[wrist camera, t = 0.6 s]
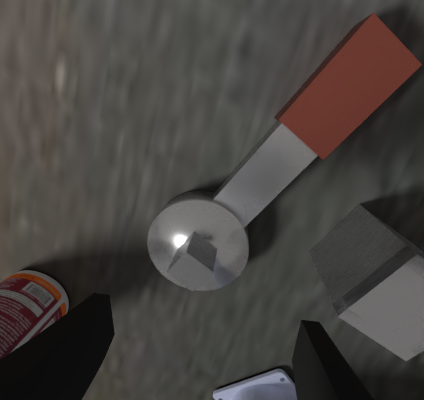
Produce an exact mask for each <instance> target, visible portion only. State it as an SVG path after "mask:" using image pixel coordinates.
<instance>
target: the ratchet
mask: <svg viewBox="0 0 424 400" xmlns="http://www.w3.org/2000/svg"><path fill="white" fill-rule="evenodd" d="M421 65H422V64H421V63H420V62H419V61H418V60H417V59H416V57H415V56H414V55H413V54H412V53H411V52H410V51H409V50H408V49H407V48H406V47H405V46H404V45H403V44H402V42H401V41H400V40H399V39H398V38H397V37H396V36H395V35H394V34H393V33H392V32H391V31H390V30H389V29H388V27H387V26H386V25H385V24H384V23H383V22H382V21H381V20H380V19H379V18H378V17H377V16H376V15H375V14H374V13H372V14H371V15H369V16H368V17H366V18H365V19H364V20H362V21H361V22H359V23H358V24H357V25H355V26H354V27H353V28H352V29H351V30H350V32H349V33H348V34H347V35H346V36H345V37H344V38H343V40H342V41H341V42H340V43H339V44H338V45H337V46H336V48H335V49H334V50H333V51H332V52H331V53H330V54H329V56H328V57H327V58H326V59H325V60H324V61H323V62H322V64H321V65H320V66H319V67H318V68H317V69H316V70H315V72H314V73H313V74H312V75H311V76H310V77H309V78H308V80H307V81H306V82H305V83H304V84H303V85H302V86H301V88H300V89H299V90H298V91H297V92H296V93H295V94H294V96H293V97H292V98H291V99H290V100H289V101H288V102H287V104H286V105H285V106H284V107H283V108H282V109H281V110H280V112H279V113H278V114H277V115H276V116H275V117H274V118H275V119H276V120H277V122H276V123H275V125H274V126H273V127H272V128H271V129H270V130H269V131H268V132H267V134H266V135H265V136H264V137H263V138H262V139H261V140H260V141H259V143H258V144H257V145H256V146H255V147H254V148H253V149H252V151H251V152H250V153H249V154H248V155H247V156H246V157H245V158H244V160H243V161H242V162H241V163H240V164H239V165H238V166H237V167H236V169H235V170H234V171H233V172H232V173H231V174H230V175H229V176H228V178H227V179H226V180H225V181H224V182H223V183H222V184H221V185H220V187H219V188H218V189H217V190H216V191H215V192H210V191H203V190H196V191H189V192H185V193H182V194H180V195H178V196H176V197H174V198H173V199H172V200H170V201H169V202H168V203H167V204H166V205H165V207H164V208H163V209H162V211H161V212H160V213H159V214H158V216H157V217H156V218H155V220H154V221H153V223H152V225H151V227H150V229H149V232H148V238H147V246H148V252H149V255H150V258H151V260H152V262H153V264H154V265H155V267H156V268H157V269H158V271H159V272H160V273H161V274H162V275H163V276H164V277H166V278H167V279H168V280H170V281H171V282H173V283H175V284H177V285H179V286H181V287H184V288H188V289H189V290H191V291H192V292H193V291H194V290H200V291H205V290H214V289H218V288H221V287H224V286H226V285H228V284H229V283H231V282H232V281H234V280H235V279H236V278H237V277H238V276H239V275H240V274H241V273H242V271H243V270H244V268H245V266H246V263H247V260H248V255H249V241H248V227H247V225H248V224H249V223H250V222H251V221H252V220H253V219H254V218H255V217H256V216H257V215H258V214H259V213H260V212H261V211H262V210H263V209H264V208H265V207H266V206H267V205H268V204H269V203H270V202H271V201H272V200H273V199H274V198H275V197H276V196H277V195H278V194H279V193H280V192H281V191H282V190H283V189H284V188H285V187H286V186H287V185H288V184H289V183H290V182H291V181H292V180H293V179H295V178H296V177H297V176H298V175H299V174H300V173H301V172H302V171H303V170H304V169H305V168H306V167H307V166H308V165H309V164H310V163H311V162H312V161H313V160H314V159H315V158H316V157H317V156H318V157H320V158H321V159H322V160H324V159H325V158H326V157H327V156H328V155H329V154H330V153H331V152H332V151H333V150H334V149H335V148H336V147H337V146H338V145H339V144H340V143H341V142H342V141H343V140H345V139H346V138H347V137H348V136H349V135H350V134H351V133H352V132H353V131H354V130H355V129H356V128H357V127H358V126H359V125H360V124H361V123H362V122H363V121H364V120H365V119H366V118H367V117H368V116H369V115H370V114H372V113H373V112H374V111H375V110H376V109H377V108H378V107H379V106H380V105H381V104H382V103H383V102H384V101H385V100H386V99H387V98H388V97H389V96H390V95H391V94H392V93H393V92H394V91H395V90H396V89H397V88H398V87H400V86H401V85H402V84H403V83H404V82H405V81H406V80H407V79H408V78H409V77H410V76H411V75H412V74H413V73H414V72H415V71H416V70H417V69H418V68H419V67H420V66H421Z"/></svg>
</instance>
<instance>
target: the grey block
mask: <svg viewBox="0 0 424 400" xmlns="http://www.w3.org/2000/svg"><path fill="white" fill-rule="evenodd" d="M310 254H311V257H312V259H313V261H314V263H315V266H316V268H317V270H318V273H319V275H320V277H321V279H322V282H323V284H324V286H325V288H326V291H327V293H328V295H329V297H330V300H331V302H332V304H333V306H334V309H335V311H336V313H337V315H338V317H340V318H341V319H343V320H344V321H346V322H347V323H349V324H350V325H352V326H353V327H355V328H356V329H358V330H359V331H361V332H362V333H364V334H366V335H367V336H369V337H370V338H372V339H373V340H375V341H376V342H378V343H379V344H381V345H382V346H384V347H385V348H387V349H388V350H390V351H391V352H393V353H394V354H396V355H397V356H399V357H400V358H402V359H404V360H405V361H407V360H409V359H411V358H412V357H414V356H416V355H417V354H419V353H420V352H422V351H424V252H423V251H421V250H420V249H419V248H418V247H417V246H415V245H414V244H413V243H412V242H410V241H409V240H408V239H406V238H405V237H403V236H402V235H401V234H399V233H398V232H397V231H395V230H394V229H393V228H391V227H390V226H388V225H387V224H386V223H384V222H383V221H382V220H380V219H379V218H378V217H376V216H375V215H373V214H372V213H371V212H369V211H368V210H367V209H365V208H364V207H363V206H361V205H360V204H359V205H358V206H357V207H356V208H355V209H354V210H353V211H352V212H351V213H350V214H348V215H347V216H346V217H345V218H344V219H343V220H342V221H341V222H340V223H339V224H338V225H337V226H336V227H335V228H334V229H333V230H332V231H331V232H330V233H329V234H328V235H327V236H326V237H325V238H324V239H323V240H321V241H320V242H319V243H318V244H317V245H316V246H315V247H314V248H313V249H312V250H311V251H310Z"/></svg>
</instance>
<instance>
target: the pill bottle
mask: <svg viewBox="0 0 424 400" xmlns="http://www.w3.org/2000/svg"><path fill="white" fill-rule="evenodd" d="M68 308H69V301H68V297H67V294H66V292H65V290H64V289H63V287H62V286H61V285H60V284H59V283H58V282H57V281H56V280H54V279H53V278H51V277H49V276H48V275H46V274H43V273H40V272H37V271H31V270H24V271H19V272H16V273H14V274H12V275H11V276H9V277H8V278H7V279H5V280H4V281H3V282H1V283H0V360H1V359H2V358H4V357H5V356H7V355H8V354H9V353H11V352H12V351H14V350H15V349H17V348H18V347H20V346H21V345H23V344H24V343H26V342H27V341H29V340H30V339H32V338H33V337H35V336H36V335H38V334H39V333H40V332H42V331H43V330H44V329H46V328H47V327H49V326H50V325H51V324H53V323H54V322H56V321H57V320H58V319H60V318H61V317H62V316H64V315H65V314H67V312H68Z"/></svg>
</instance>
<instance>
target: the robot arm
mask: <svg viewBox="0 0 424 400" xmlns="http://www.w3.org/2000/svg"><path fill="white" fill-rule="evenodd" d="M114 335H115V334H114V326H113V319H112V311H111V304H110V296H109V295H105V294H97V293H94V294H93V295H91V296H90V297H88V298H87V299H86V300H84V301H83V302H81V303H80V304H79V305H77V306H76V307H75V308H73V309H72V310H71V311H69V312H68V313H67V314H65V315H64V316H62V317H61V318H60V319H58V320H57V321H56V322H54V323H53V324H51V325H50V326H49V327H47V328H46V329H44V330H43V331H42V332H40V333H39V334H38V335H36V336H35V337H33V338H32V339H30V340H29V341H27V342H26V343H24V344H23V345H21V346H20V347H18V348H17V349H15V350H14V351H12V352H11V353H9V354H8V355H7V356H5V357H4V358H2V359H1V360H0V400H82V398H83V396H84V395H85V393H86V391H87V389H88V388H89V386H90V384H91V382H92V380H93V379H94V377H95V375H96V373H97V371H98V370H99V368H100V366H101V364H102V362H103V360H104V358H105V356H106V353H107V351H108V349H109V346H110V344H111V342H112V339H113V337H114ZM292 364H293V373H294V382H295V383H294V382H293V381H292V380H291V379H290V377H289V376H288V375H287V374H286V373H285V371H284V370H282V369H275V370H272V371H269V372H267V373H264V374H261V375H258V376H255V377H252V378H249V379H246V380H244V381H241V382H238V383H235V384H232V385H229V386H226V387H223V388H220V389H218V390H215V391H214V392H213V397H214V399H215V400H374V398H373V397H372V396H371V394H370V393H369V392H368V390H367V389H366V388H365V386H364V385H363V384H362V382H361V381H360V379H359V378H358V377H357V375H356V374H355V373H354V371H353V370H352V369H351V367H350V366H349V364H348V363H347V362H346V360H345V359H344V357H343V356H342V354H341V353H340V351H339V350H338V349H337V347H336V346H335V344H334V343H333V341H332V340H331V338H330V337H329V335H328V334H327V332H326V331H325V329H324V328H323V326H322V325H321V324H320V323H319V322H314V321H306V320H301V324H300V328H299V332H298V337H297V341H296V345H295V349H294V354H293V358H292Z"/></svg>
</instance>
